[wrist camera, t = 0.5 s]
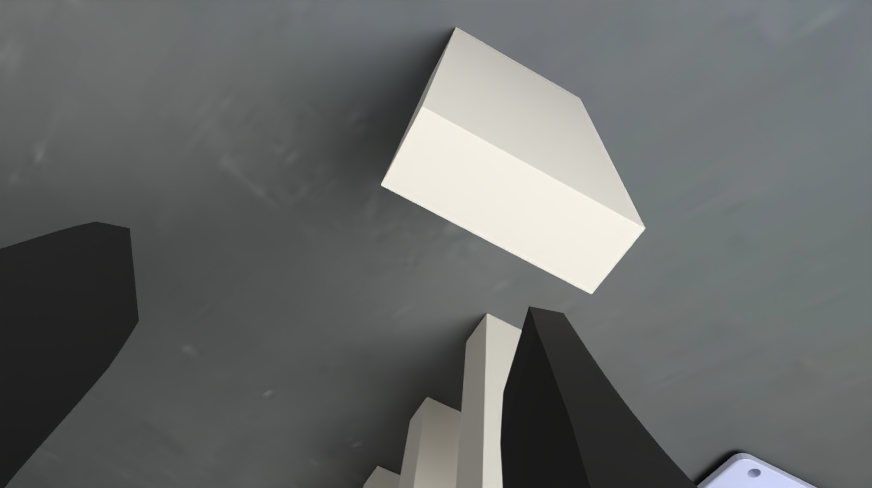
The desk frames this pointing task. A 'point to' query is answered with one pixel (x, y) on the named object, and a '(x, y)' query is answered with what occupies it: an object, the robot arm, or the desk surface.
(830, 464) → the desk surface
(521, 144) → the domino
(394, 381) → the desk surface
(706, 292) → the desk surface
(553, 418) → the robot arm
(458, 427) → the domino
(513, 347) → the domino
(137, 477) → the desk surface
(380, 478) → the domino
